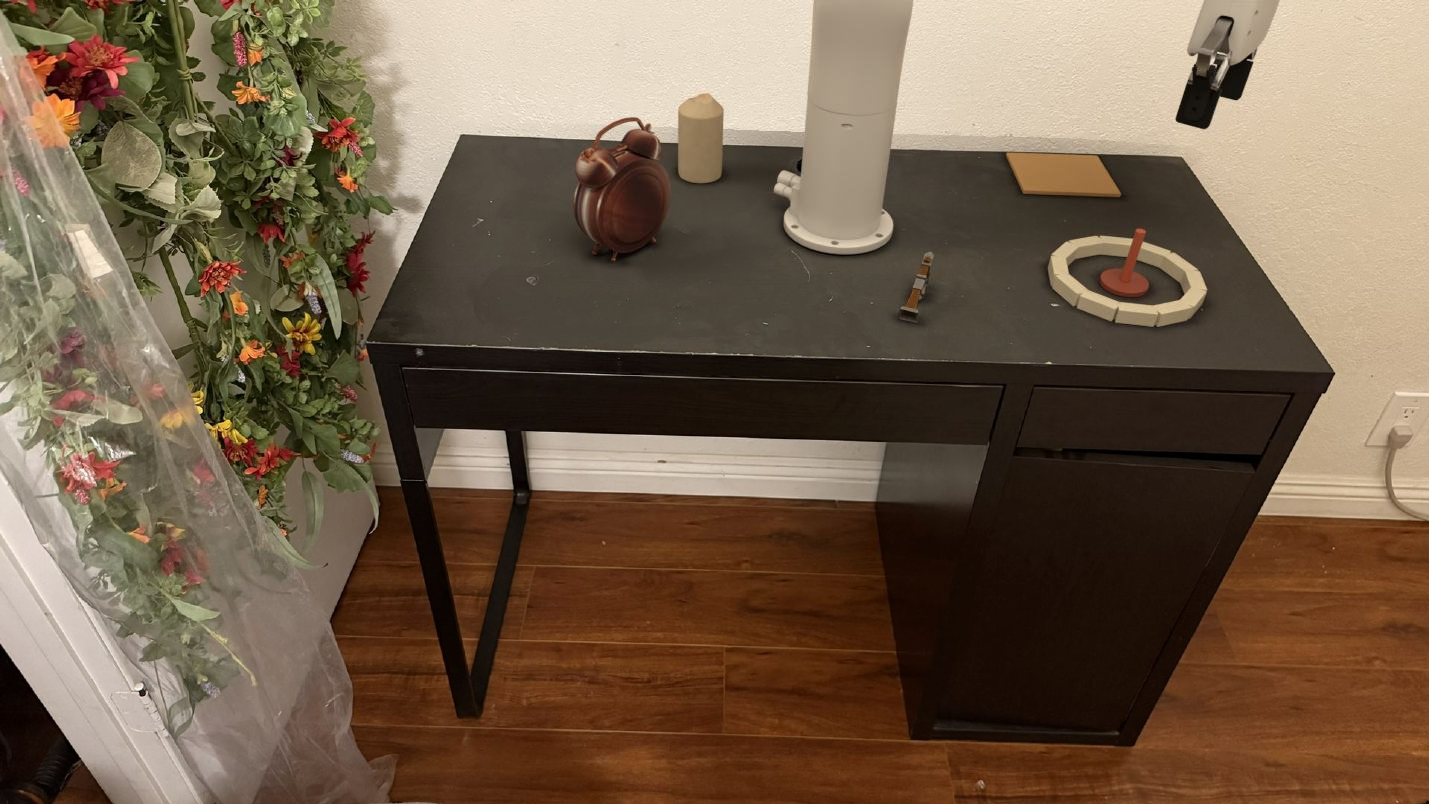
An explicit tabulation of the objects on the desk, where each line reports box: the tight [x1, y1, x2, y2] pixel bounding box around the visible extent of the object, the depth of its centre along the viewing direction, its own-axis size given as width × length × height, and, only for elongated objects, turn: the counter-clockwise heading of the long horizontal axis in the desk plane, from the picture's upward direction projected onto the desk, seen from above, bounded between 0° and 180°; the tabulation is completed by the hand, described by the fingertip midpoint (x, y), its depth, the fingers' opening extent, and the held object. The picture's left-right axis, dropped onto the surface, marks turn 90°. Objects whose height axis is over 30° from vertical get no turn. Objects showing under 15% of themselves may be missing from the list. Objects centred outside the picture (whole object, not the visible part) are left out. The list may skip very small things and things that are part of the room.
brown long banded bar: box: [899, 251, 935, 324], centre depth 102 cm, size 2×8×4 cm, turn 157°
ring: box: [1047, 235, 1208, 328], centre depth 106 cm, size 16×16×2 cm
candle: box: [677, 92, 725, 184], centre depth 122 cm, size 6×6×10 cm
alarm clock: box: [572, 116, 672, 262], centre depth 106 cm, size 11×5×15 cm, turn 136°
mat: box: [1005, 151, 1122, 198], centre depth 127 cm, size 12×11×1 cm
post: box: [1098, 228, 1150, 298], centre depth 105 cm, size 5×5×7 cm
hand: (1208, 110), depth 101 cm, fingers open, 9 cm apart
